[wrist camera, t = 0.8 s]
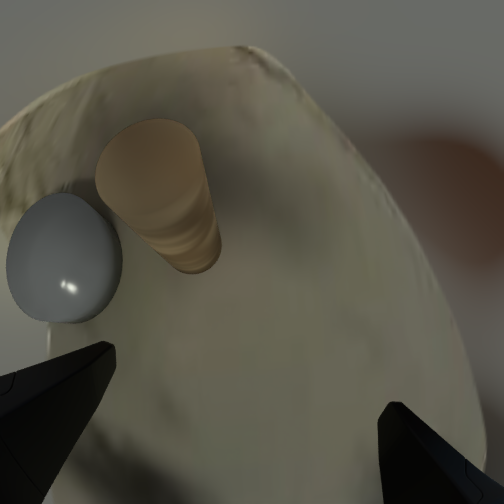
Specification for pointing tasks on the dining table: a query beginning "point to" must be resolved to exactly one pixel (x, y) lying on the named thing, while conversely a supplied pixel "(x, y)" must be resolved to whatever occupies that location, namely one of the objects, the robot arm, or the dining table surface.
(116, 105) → the dining table surface
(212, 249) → the oak pillar
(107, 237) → the grey round bowl
